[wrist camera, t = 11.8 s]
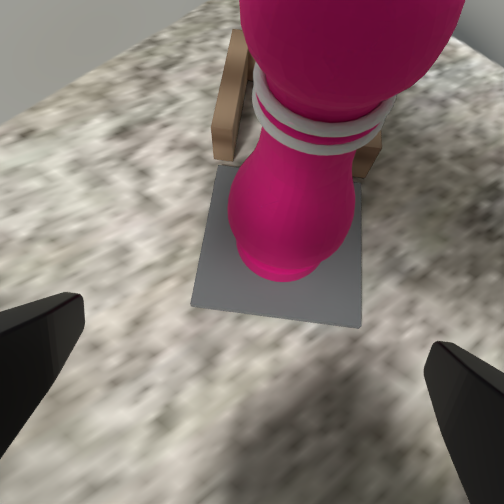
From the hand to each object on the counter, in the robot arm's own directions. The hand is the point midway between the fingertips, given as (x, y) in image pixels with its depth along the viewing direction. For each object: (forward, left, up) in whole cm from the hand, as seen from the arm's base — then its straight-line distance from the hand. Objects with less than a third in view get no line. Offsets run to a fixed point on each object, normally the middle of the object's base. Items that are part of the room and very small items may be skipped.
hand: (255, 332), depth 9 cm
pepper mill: (+6, -7, -13) cm, 16 cm away
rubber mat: (+6, -7, -14) cm, 16 cm away
